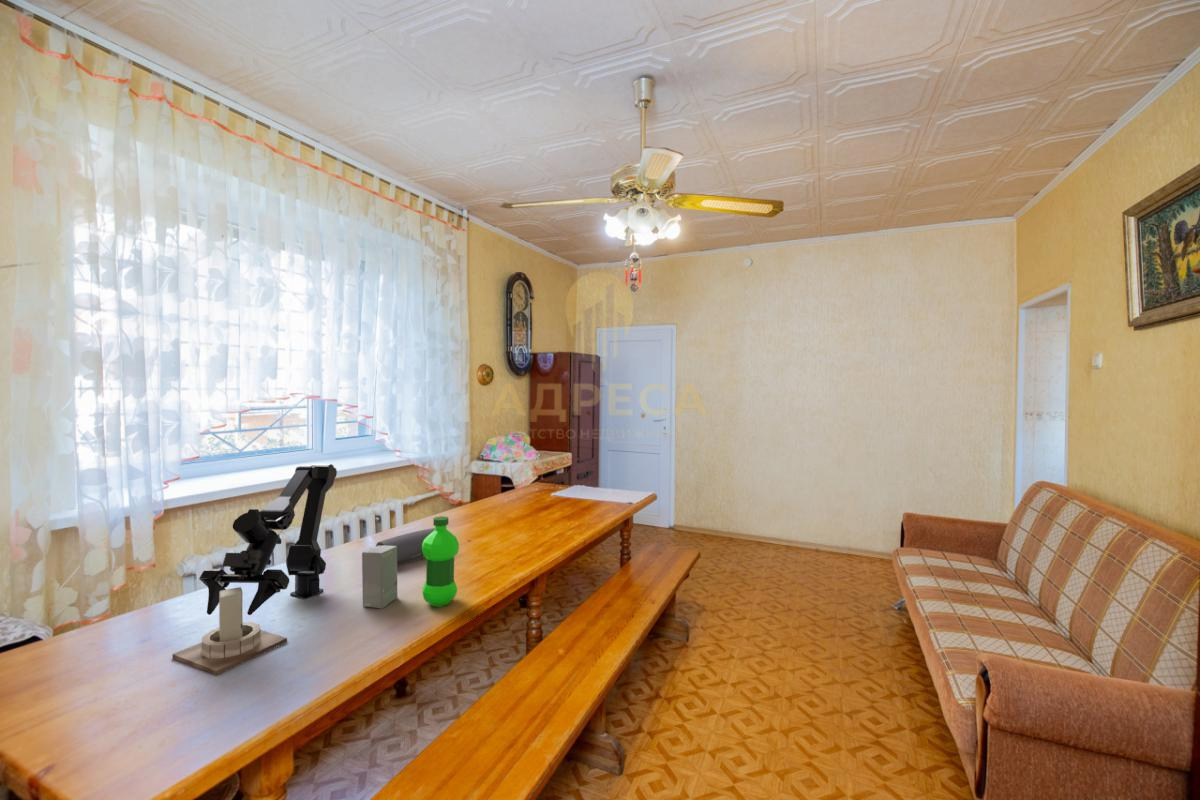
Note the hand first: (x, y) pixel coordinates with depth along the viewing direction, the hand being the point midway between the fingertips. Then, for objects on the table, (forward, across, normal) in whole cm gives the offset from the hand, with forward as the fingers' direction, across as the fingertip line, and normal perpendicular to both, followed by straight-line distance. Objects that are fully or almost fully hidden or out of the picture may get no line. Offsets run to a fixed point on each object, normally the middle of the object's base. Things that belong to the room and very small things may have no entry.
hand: (228, 614), depth 119 cm
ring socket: (+6, 0, +7) cm, 9 cm away
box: (+5, 0, +7) cm, 8 cm away
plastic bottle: (-13, +41, +26) cm, 51 cm away
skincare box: (-14, +24, +27) cm, 38 cm away
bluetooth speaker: (-39, +21, +52) cm, 68 cm away
